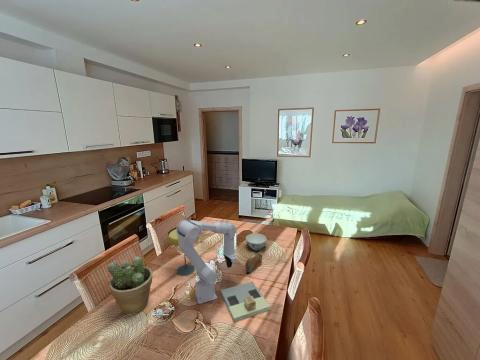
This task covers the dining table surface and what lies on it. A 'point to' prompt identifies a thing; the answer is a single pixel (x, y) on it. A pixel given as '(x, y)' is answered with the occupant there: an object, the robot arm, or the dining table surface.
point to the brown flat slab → (253, 262)
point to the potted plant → (130, 285)
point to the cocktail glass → (185, 268)
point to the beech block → (249, 303)
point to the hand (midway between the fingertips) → (229, 266)
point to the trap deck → (236, 301)
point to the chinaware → (256, 241)
